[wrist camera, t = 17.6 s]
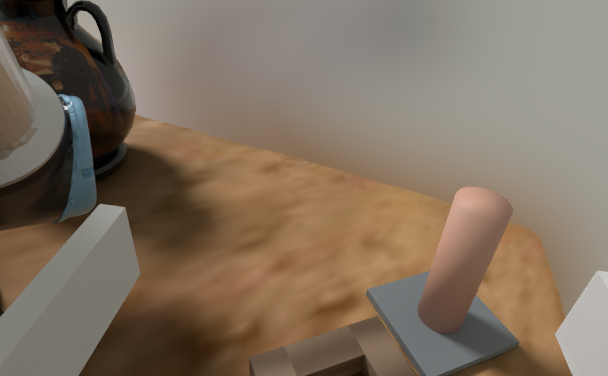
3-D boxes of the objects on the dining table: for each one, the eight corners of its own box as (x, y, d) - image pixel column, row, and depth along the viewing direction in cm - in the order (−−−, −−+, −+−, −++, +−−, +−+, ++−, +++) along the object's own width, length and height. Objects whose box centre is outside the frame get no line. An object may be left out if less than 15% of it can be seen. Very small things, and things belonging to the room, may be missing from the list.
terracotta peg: (408, 304, 48) (444, 192, 39) (443, 292, 50) (485, 182, 41) (435, 339, 45) (481, 225, 35) (472, 325, 47) (525, 213, 37)
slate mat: (366, 294, 50) (367, 289, 50) (446, 270, 55) (448, 265, 54) (426, 384, 42) (428, 378, 41) (516, 347, 46) (519, 342, 45)
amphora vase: (156, 133, 80) (130, -32, 63) (126, 202, 62) (82, -3, 46) (34, 131, 77) (-23, -41, 61) (-31, 202, 60) (-137, -14, 44)
